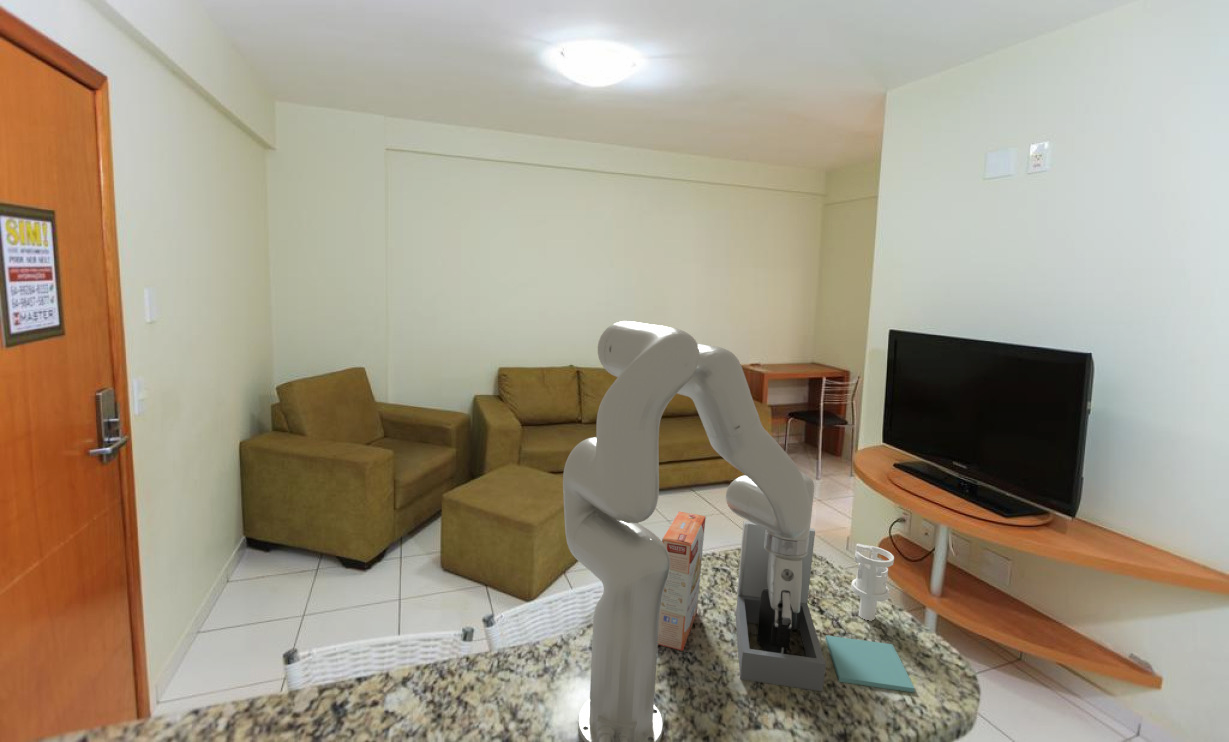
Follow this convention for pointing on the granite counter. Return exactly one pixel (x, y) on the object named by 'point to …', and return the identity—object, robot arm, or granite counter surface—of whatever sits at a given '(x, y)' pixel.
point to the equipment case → (750, 587)
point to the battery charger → (770, 623)
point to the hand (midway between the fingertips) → (777, 630)
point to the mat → (868, 663)
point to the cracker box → (681, 579)
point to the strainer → (871, 579)
